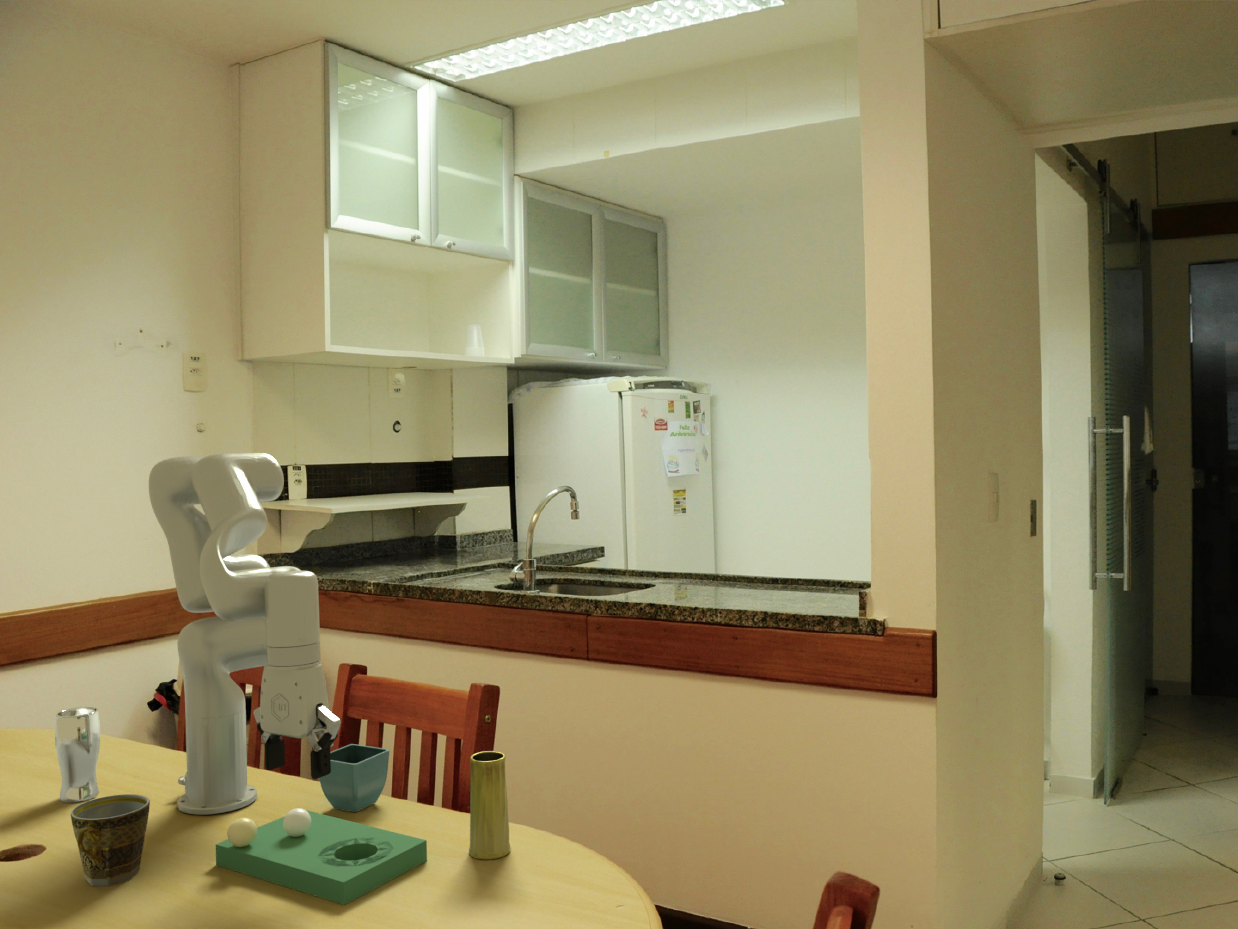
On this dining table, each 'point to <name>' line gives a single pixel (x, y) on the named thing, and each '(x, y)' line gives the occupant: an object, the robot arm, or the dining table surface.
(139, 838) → the ceramic cup
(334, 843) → the putting mat
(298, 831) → the white ball
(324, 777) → the flower pot
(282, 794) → the dining table surface
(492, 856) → the vase
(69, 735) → the beer glass
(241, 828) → the yellow ball
